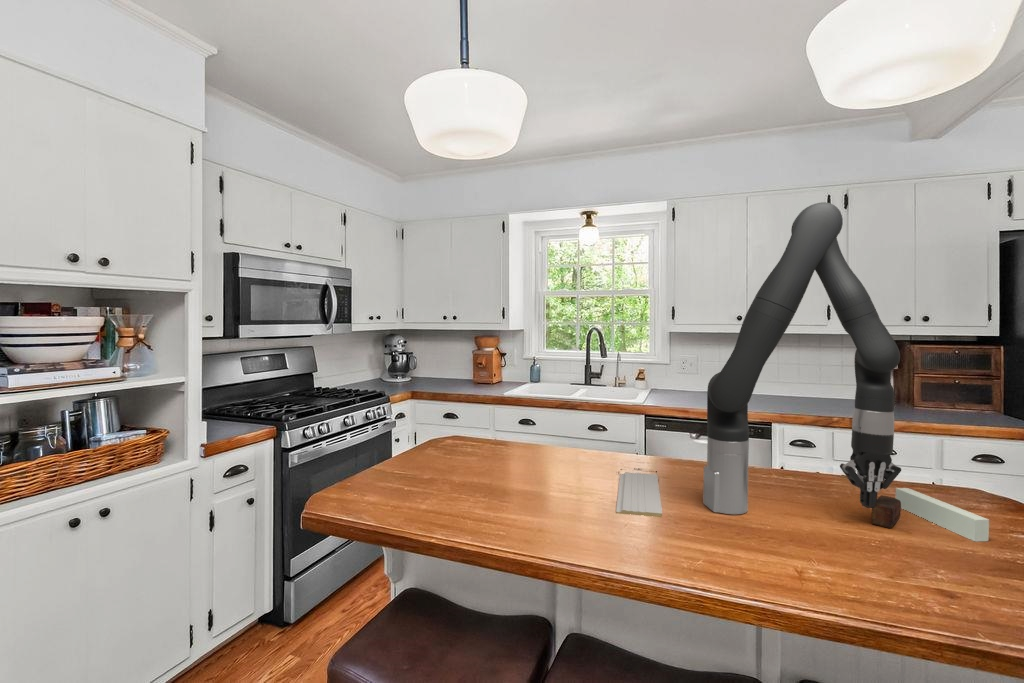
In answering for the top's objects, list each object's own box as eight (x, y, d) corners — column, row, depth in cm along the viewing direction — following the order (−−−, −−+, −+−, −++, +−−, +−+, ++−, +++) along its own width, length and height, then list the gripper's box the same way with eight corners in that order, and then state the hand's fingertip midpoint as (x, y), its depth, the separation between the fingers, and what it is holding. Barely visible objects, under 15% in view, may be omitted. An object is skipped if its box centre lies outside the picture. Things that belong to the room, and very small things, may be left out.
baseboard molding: (609, 515, 119) (662, 520, 116) (609, 503, 119) (662, 507, 116) (615, 476, 149) (657, 479, 146) (615, 466, 149) (657, 469, 146)
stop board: (974, 541, 103) (975, 519, 103) (895, 506, 123) (895, 488, 123) (988, 541, 103) (989, 519, 103) (906, 505, 123) (907, 487, 123)
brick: (892, 529, 109) (893, 508, 109) (870, 524, 112) (871, 504, 111) (901, 517, 116) (901, 497, 116) (880, 512, 119) (880, 492, 119)
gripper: (856, 433, 106) (851, 513, 107) (915, 434, 107) (910, 513, 108) (832, 425, 114) (827, 500, 115) (887, 426, 115) (883, 500, 115)
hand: (868, 506), depth 111 cm, fingers closed
